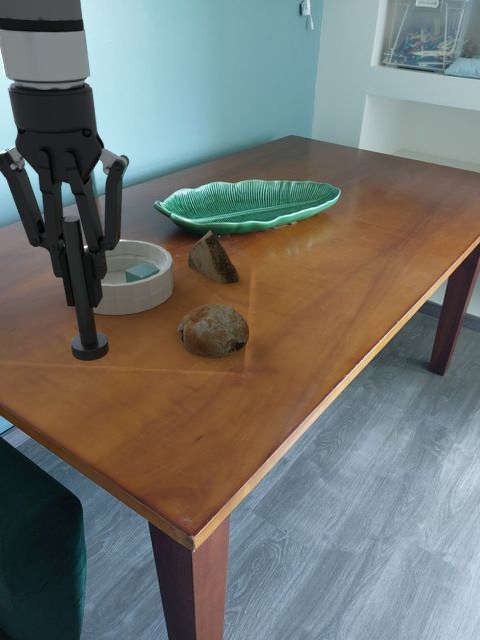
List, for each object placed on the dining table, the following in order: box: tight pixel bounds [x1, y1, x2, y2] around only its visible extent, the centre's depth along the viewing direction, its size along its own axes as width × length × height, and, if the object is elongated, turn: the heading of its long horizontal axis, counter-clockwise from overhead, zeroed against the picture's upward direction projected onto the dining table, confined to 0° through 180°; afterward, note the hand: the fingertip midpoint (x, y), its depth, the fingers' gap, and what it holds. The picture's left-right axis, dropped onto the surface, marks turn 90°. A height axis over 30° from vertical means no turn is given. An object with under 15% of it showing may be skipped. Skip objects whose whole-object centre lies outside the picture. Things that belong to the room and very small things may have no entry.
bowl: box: [84, 239, 175, 316], centre depth 91 cm, size 18×18×6 cm
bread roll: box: [177, 303, 250, 359], centre depth 79 cm, size 10×10×8 cm
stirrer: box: [60, 215, 110, 362], centre depth 62 cm, size 4×4×17 cm
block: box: [125, 263, 159, 283], centre depth 90 cm, size 4×4×4 cm
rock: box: [187, 230, 241, 285], centre depth 97 cm, size 11×9×10 cm
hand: (85, 301), depth 63 cm, fingers closed on stirrer, 2 cm apart
